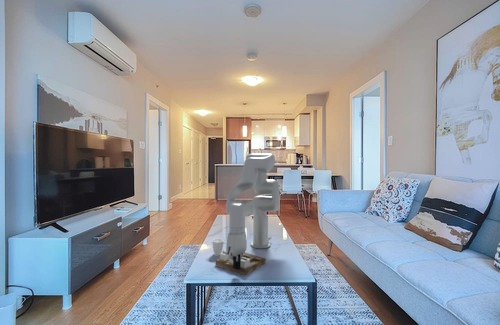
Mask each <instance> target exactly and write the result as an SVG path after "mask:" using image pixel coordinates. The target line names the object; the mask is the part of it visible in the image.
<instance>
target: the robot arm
mask: <svg viewBox="0 0 500 325" xmlns="http://www.w3.org/2000/svg"><path fill="white" fill-rule="evenodd" d="M275 163H276V157H275V155H274V154H273V153H267V152H266V153H261V152H260V153H255V152H254V153H248V154H247V155H246V157H245V160H244V164H243V168H242V171H241V176H240V180H239V182H237V183H235V185H234V186H233V187H232V188H231V189H230V191H229V192H228V194H227V199H226V203H225V211H226V213H227V214H228V216H229V217H228V219H229V220H228V221H229V222H228V225H229V226H228V234H227V236H226V243H225V244H226V245H225V251H226V254H229V256H228V259H232V260H233V268H234V269H237V270H239V269H240V268H241V259H242V255H243V254H244V253H245V252H246V251H247V247H248V246H247V233H246V217H249V216H253V217H252V221H253V222H252V225H253V226H252V227H253V229H252V233H253V235H252V241H251V242H250V246H251V247H252V248H255V249H260V250H261V249H268V248H270V247H271V243H270V242H269V241H270V240H272V236H270V235H269V217H268V214H267V213H266V212H271V213H273V212H274V213H275V212H276V213H277V212H278V211H279V210H280V207H281V206H280V204H281V202H280V196H281V195H280V184H279V181H278V180H276V179H268V175H267V173H269V172H270V171H271V170H272V169H273V168H274V167H275ZM250 189H253V191H254V193H255V194H256V195H255V196H254V197H253V198H252V200H242V199H241V200H240V199H236V198H237V196H238V195H239V194H241V193H243V192H245V191H247V190H250Z"/></svg>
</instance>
